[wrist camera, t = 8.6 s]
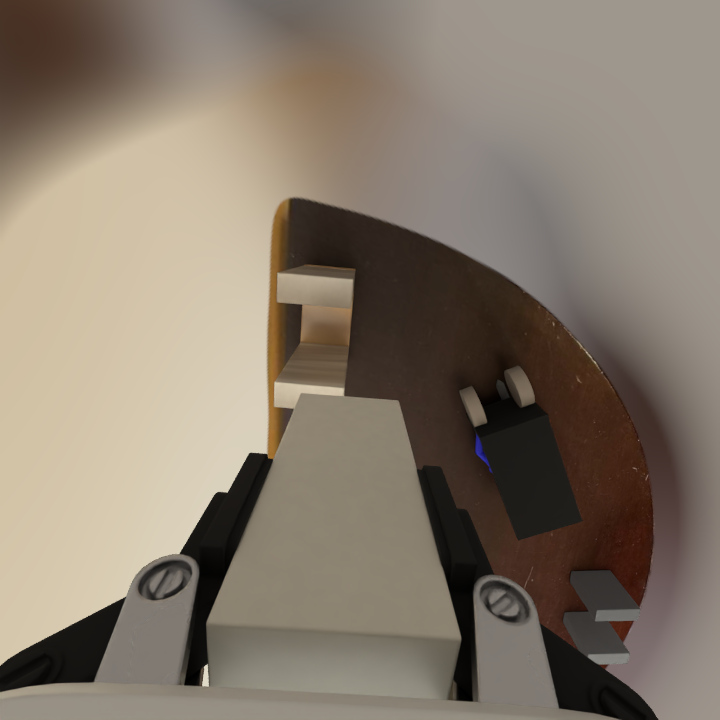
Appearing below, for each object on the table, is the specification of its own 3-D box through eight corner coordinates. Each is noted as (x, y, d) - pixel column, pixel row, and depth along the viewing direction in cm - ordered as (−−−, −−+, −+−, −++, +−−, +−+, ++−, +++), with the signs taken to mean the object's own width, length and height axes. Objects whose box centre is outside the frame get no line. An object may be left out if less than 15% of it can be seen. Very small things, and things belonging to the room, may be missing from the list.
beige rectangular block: (300, 392, 17) (204, 623, 6) (398, 399, 17) (463, 639, 7) (298, 445, 18) (209, 730, 7) (392, 452, 18) (440, 742, 7)
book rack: (305, 263, 33) (277, 270, 22) (355, 268, 34) (353, 277, 22) (301, 358, 36) (273, 408, 24) (347, 362, 36) (342, 414, 25)
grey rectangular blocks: (571, 570, 43) (597, 610, 39) (610, 569, 43) (641, 609, 39) (562, 621, 46) (586, 664, 41) (599, 620, 46) (627, 663, 41)
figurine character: (442, 380, 38) (493, 501, 40) (458, 401, 31) (520, 549, 33) (504, 355, 37) (553, 480, 40) (536, 370, 30) (593, 523, 32)
